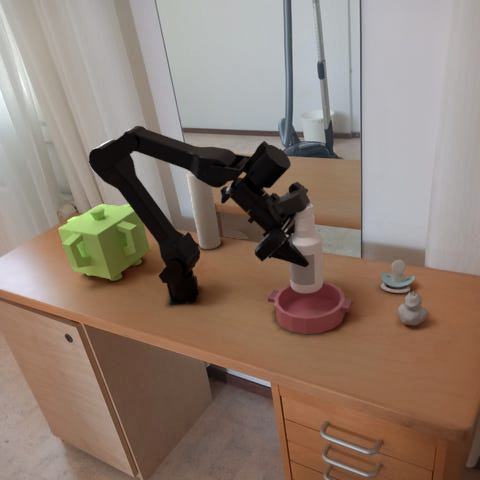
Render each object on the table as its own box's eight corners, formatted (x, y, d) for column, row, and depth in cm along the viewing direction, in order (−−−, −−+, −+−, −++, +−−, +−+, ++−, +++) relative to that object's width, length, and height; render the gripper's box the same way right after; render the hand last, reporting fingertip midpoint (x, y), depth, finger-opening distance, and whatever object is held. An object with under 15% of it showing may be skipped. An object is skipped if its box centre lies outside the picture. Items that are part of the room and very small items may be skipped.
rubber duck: (393, 327, 99) (395, 293, 94) (403, 309, 103) (405, 276, 99) (421, 332, 96) (425, 298, 92) (429, 314, 100) (433, 281, 96)
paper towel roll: (213, 251, 136) (200, 176, 124) (195, 248, 139) (181, 174, 127) (227, 239, 141) (215, 166, 129) (209, 237, 144) (197, 164, 132)
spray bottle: (287, 279, 106) (283, 201, 96) (318, 275, 107) (317, 196, 96) (293, 296, 101) (289, 214, 90) (326, 291, 101) (326, 209, 91)
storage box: (115, 298, 122) (94, 235, 112) (52, 283, 132) (29, 225, 123) (173, 252, 139) (160, 194, 129) (114, 242, 149) (97, 187, 139)
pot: (260, 327, 104) (258, 312, 102) (282, 291, 115) (281, 276, 113) (342, 339, 97) (342, 323, 95) (358, 300, 108) (358, 284, 106)
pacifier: (409, 297, 107) (416, 282, 111) (411, 273, 103) (418, 258, 107) (376, 292, 110) (383, 278, 114) (376, 268, 106) (384, 254, 110)
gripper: (265, 194, 85) (328, 257, 87) (297, 158, 98) (351, 213, 101) (229, 232, 92) (288, 289, 94) (263, 194, 106) (314, 244, 108)
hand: (312, 257), depth 99 cm, fingers closed on spray bottle, 7 cm apart
